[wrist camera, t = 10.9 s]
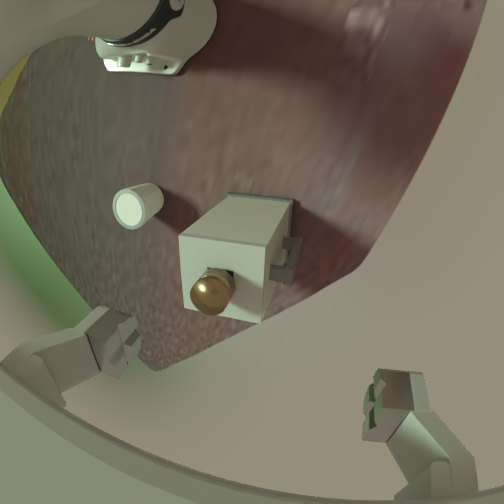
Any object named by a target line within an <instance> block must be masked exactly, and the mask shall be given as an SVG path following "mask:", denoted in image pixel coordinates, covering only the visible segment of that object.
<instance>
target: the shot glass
mask: <svg viewBox="0 0 504 504" xmlns="http://www.w3.org/2000/svg"><path fill="white" fill-rule="evenodd" d="M163 203H164V198H163V194H162V191H161V190H160V189H159V187H158V186H157V185H154V184H152V183H146V184H142V185H138V186H134V187H130V188H126V189H123V190H121V191H119V192H117V194H116V195H115V197H114V200H113V211H114V214H115V217H116V219H117V220H118V221H119V223H120V224H121V225H122V226H124V227H126V228H128V229H136V228H139V227H140V226H142V225H143V224H144V223H145V222H146V221H148V220H149V219H150V218H151V217H152V216H154V215H155V214H156V213H157V212H158V211H159V210H160V209H161V208H162V206H163Z"/></svg>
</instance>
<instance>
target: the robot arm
mask: <svg viewBox="0 0 504 504" xmlns="http://www.w3.org/2000/svg"><path fill="white" fill-rule="evenodd" d="M216 21H217V11H216V7H215V4H214V2H213V0H0V84H1V82H2V81H3V80H4V78H5V77H6V76H7V75H8V74H9V72H10V71H11V70H12V69H13V68H14V67H15V66H16V65H17V64H18V63H19V62H20V61H21V60H23V59H24V58H25V57H26V56H28V55H29V54H30V53H32V52H33V51H35V50H36V49H38V48H40V47H41V46H43V45H45V44H47V43H49V42H52V41H54V40H56V39H59V38H63V37H67V36H89V40H90V39H91V37H92V40H93V41H94V40H95V43H96V50H97V53H98V55H99V56H100V57H101V58H103V60H104V63H105V66H106V68H107V70H108V71H111V72H133V73H151V74H164V75H176V74H177V73H178V72H179V71H180V70H181V69H182V67H183V66H184V64H185V62H186V61H187V60H188V59H189V58H190V57H191V56H193V55H194V54H195V53H197V52H198V51H199V50H200V49H201V48H202V47H203V46H204V45H205V44H206V43H207V42H208V40H209V39H210V37H211V35H212V34H213V31H214V29H215V26H216ZM166 66H168V68H167V69H165V67H166ZM137 327H138V323H137V319H136V318H135V317H134V316H131V315H128V314H125V313H123V312H120V311H117V310H114V309H111V308H108V307H105V306H103V305H101V306H98V307H97V308H96V309H94V310H93V311H92V312H91V313H90V314H89V315H88V316H87V317H86V318H85V319H84V320H83V321H82V322H80V323H79V324H78V325H77V326H76V327H75V328H74V329H72V328H68V329H65V330H62V331H59V332H56V333H53V334H49V335H46V336H43V337H40V338H37V339H34V340H31V341H27V342H24V343H21V344H20V345H18V346H17V347H16V348H15V349H14V350H13V351H12V352H11V353H10V354H9V355H8V356H7V357H6V358H4V359H3V360H2V361H1V362H0V504H504V486H500V487H495V488H491V489H487V490H482V491H478V482H477V474H476V467H475V460H474V457H473V456H472V454H471V453H470V452H469V451H468V450H467V449H466V447H465V446H464V445H463V444H462V443H461V442H460V441H459V439H458V438H457V437H456V436H455V435H454V434H453V432H452V431H451V430H450V429H449V428H448V427H447V426H446V425H445V423H444V422H443V421H442V420H441V419H440V418H439V416H438V415H437V414H436V413H435V412H432V411H430V407H429V401H428V396H427V390H426V385H425V380H424V376H423V374H422V373H421V372H411V371H399V370H388V369H378V370H377V371H376V372H375V375H374V377H373V378H374V383H373V384H371V385H370V386H369V387H368V389H367V392H366V395H365V398H364V404H363V413H364V415H365V416H366V419H365V421H364V422H363V431H362V440H363V441H373V442H385V443H386V444H387V446H388V448H389V450H390V451H391V453H392V455H393V456H394V458H395V460H396V461H397V464H398V465H399V467H400V469H401V471H402V472H403V474H404V476H405V478H406V480H407V481H408V483H409V484H408V485H407V486H405V487H404V488H403V489H402V490H401V491H399V492H398V493H397V494H396V495H395V496H394V500H392V501H391V500H389V501H369V500H346V499H333V498H321V497H314V496H306V495H298V494H292V493H286V492H280V491H274V490H270V489H264V488H260V487H255V486H251V485H247V484H242V483H238V482H234V481H231V480H227V479H223V478H219V477H216V476H213V475H210V474H206V473H203V472H200V471H197V470H194V469H191V468H188V467H185V466H182V465H179V464H177V463H174V462H172V461H169V460H166V459H164V458H161V457H159V456H156V455H154V454H151V453H149V452H146V451H144V450H142V449H140V448H137V447H135V446H133V445H131V444H129V443H127V442H124V441H122V440H120V439H118V438H116V437H114V436H112V435H110V434H108V433H106V432H104V431H102V430H101V429H98V428H97V427H95V426H93V425H91V424H89V423H87V422H86V421H84V420H82V419H81V418H79V417H77V416H75V415H74V414H72V413H70V412H69V411H67V410H66V409H64V407H65V406H66V401H65V400H64V398H63V396H62V395H61V393H62V392H64V391H66V390H68V389H70V388H72V387H74V386H76V385H78V384H80V383H81V382H83V381H85V380H87V379H89V378H91V377H93V376H95V375H97V374H99V373H100V372H102V373H105V374H107V375H110V376H112V377H114V378H117V379H119V378H120V377H121V376H122V375H123V373H124V372H125V371H126V369H127V368H128V362H129V361H131V360H133V359H135V358H136V356H137V355H138V354H139V351H140V348H141V336H140V334H139V333H138V332H137V330H136V328H137Z"/></svg>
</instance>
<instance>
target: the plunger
mask: <svg viewBox="0 0 504 504" xmlns="http://www.w3.org/2000/svg"><path fill="white" fill-rule="evenodd" d="M232 273H233V271H227V270H223V269H220V268H210V269H208V270H206V271H205V272H204V273H203V274H202V275H201V277H200V278H199V279H198V280H197V281H196V283H195V284H194V285H193V286H192V288H191V290H190V299H191V301H192V303H193V305H194V306H195V307H196V308H197V309H198V310H199V311H201V312H202V313H204V314H207V315H218V314H221V313H222V312H223V311H224V310H225V308H226V307H227V305H228V303H229V302H230V300H231V298H232V296H233V295H234V293H235V290H236V285H235V281H234V279H233V278H232V276H231V274H232Z"/></svg>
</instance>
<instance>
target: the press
mask: <svg viewBox="0 0 504 504" xmlns="http://www.w3.org/2000/svg"><path fill="white" fill-rule="evenodd" d="M293 200H294V199H289V198H281V197H272V196H263V195H253V194H243V193H233V192H228V193H226V199H224V200H223V201H222V202H220V203H219V204H218V205H217V206H215V207H214V208H213V209H211V210H210V211H209V212H207V213H206V214H205V215H204V216H202V217H201V218H200V219H198V220H197V221H196V222H195V223H193V224H192V225H191V226H190V227H188V228H187V229H186V230H185V231H183V232H182V233H181V234H180V235H179V250H180V264H181V276H182V287H183V298H184V308H187V309H192V310H196V311H199V310H198V309H197V308H196V307H195V306H194V305H193V303H192V301H191V299H190V290H191V288H192V286H193V285H194V284H195V283H196V281H197V280H198V279H199V278H200V277H201V275H202V274H203V273H204V272H205V271H206V270H208V269H210V268H220V269H223V270H227V271H233V273H232V274H231V276H232V278H233V279H234V281H235V285H236V290H235V293H234V295H233V296H232V298H231V300H230V302H229V303H228V305H227V307H226V308H225V310H224V311H223V312H222V313H221V314H218V315H219V316H224V317H229V318H234V319H239V320H244V321H249V322H255V323H261V321H262V319H263V316H264V314H265V311H266V309H267V306H268V303H269V301H270V298H271V296H272V293H273V291H274V288H275V285H276V283H277V281H278V282H283V284H288V285H292V282H293V278H294V275H295V271H296V268H297V264H298V261H299V257H300V254H301V250H302V241H303V237H296V238H294V237H290V235H291V224H292V212H293ZM289 250H291V252H290V255H289ZM288 256H289V258H288ZM284 263H286V266H283V264H284Z"/></svg>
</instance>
